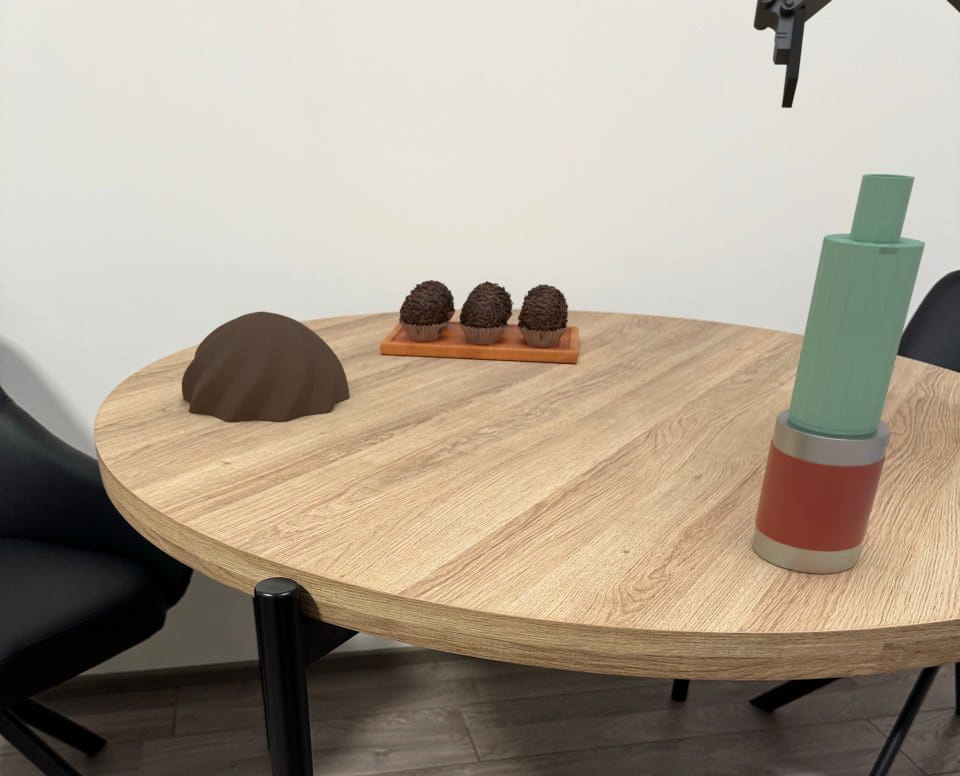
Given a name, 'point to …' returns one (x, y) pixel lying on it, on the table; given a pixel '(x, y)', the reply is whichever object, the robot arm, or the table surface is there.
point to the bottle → (857, 314)
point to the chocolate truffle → (484, 325)
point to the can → (817, 497)
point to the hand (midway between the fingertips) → (883, 96)
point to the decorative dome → (263, 371)
